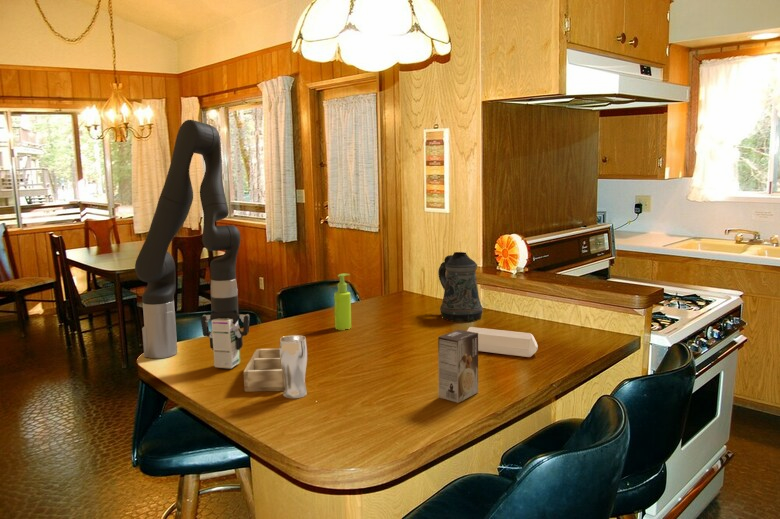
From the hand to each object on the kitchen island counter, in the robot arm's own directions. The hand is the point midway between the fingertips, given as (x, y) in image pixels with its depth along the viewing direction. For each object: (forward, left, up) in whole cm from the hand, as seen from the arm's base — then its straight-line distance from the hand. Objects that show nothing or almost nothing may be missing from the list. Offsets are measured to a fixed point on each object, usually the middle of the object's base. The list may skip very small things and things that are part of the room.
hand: (226, 349), depth 178 cm
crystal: (+83, +8, -6) cm, 84 cm away
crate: (+14, -11, -5) cm, 19 cm away
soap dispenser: (+33, +41, -6) cm, 53 cm away
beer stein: (+77, +54, -6) cm, 95 cm away
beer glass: (+22, -24, -6) cm, 33 cm away
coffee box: (+64, -28, -6) cm, 70 cm away
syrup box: (0, 0, -5) cm, 5 cm away
